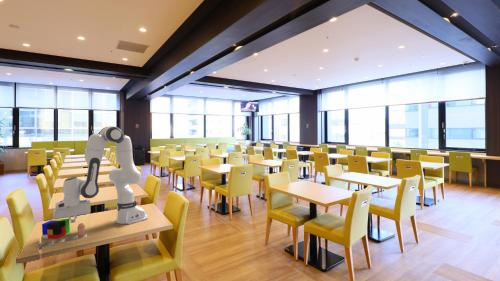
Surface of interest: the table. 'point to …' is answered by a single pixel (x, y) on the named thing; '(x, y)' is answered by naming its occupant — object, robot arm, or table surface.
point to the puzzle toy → (55, 228)
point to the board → (58, 241)
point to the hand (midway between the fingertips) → (72, 222)
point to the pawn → (81, 230)
